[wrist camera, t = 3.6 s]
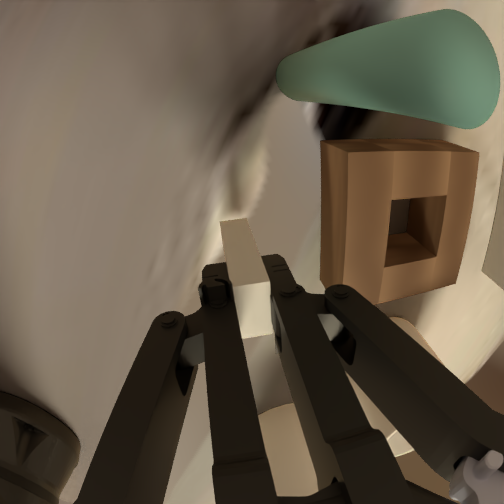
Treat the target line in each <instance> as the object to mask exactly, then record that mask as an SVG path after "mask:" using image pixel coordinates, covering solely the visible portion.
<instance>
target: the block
mask: <svg viewBox="0 0 504 504" xmlns="http://www.w3.org/2000/svg"><path fill="white" fill-rule="evenodd" d="M320 148H321V262H320V280H321V282H322V284H323V285H324V287H325V289H327V288H328V287H330V286H331V285H336V284H344V285H348V286H350V287H352V288H354V289H355V290H356V291H357V292H359V293H360V294H361V295H362V296H363V297H365V298H366V299H367V300H368V301H369V302H371V303H372V304H373V305H376V304H380V303H384V302H388V301H392V300H396V299H400V298H404V297H408V296H412V295H416V294H420V293H423V292H427V291H431V290H434V289H438V288H442V287H445V286H449V285H452V284H456V280H457V276H458V273H459V269H460V265H461V261H462V257H463V252H464V248H465V243H466V239H467V234H468V229H469V224H470V219H471V213H472V207H473V201H474V194H475V187H476V179H477V171H478V161H479V152H476V151H473V150H470V149H468V148H465V147H462V146H459V145H456V144H453V143H450V142H447V141H443V140H426V139H346V140H322V141H320ZM408 198H410V208H409V217H408V225H407V232H406V233H400V234H393V235H388V231H389V221H390V211H391V200H398V199H408Z"/></svg>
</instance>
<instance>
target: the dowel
mask: <svg viewBox="0 0 504 504" xmlns="http://www.w3.org/2000/svg"><path fill="white" fill-rule="evenodd" d="M276 81H277V84H278V87H279V88H280V90H281V91H282V92H283V93H284V94H285V95H286V96H287V97H289V98H291V99H293V100H296V101H305V102H316V103H326V104H335V105H343V106H351V107H358V108H365V109H372V110H378V111H384V112H389V113H395V114H400V115H405V116H410V117H415V118H420V119H425V120H429V121H433V122H438V123H442V124H446V125H450V126H454V127H457V128H462V129H473V128H476V127H479V126H481V125H482V124H484V123H485V122H486V121H487V120H488V119H489V117H490V116H491V115H492V113H493V111H494V109H495V107H496V105H497V101H498V98H499V92H500V71H499V65H498V61H497V57H496V54H495V51H494V49H493V46H492V44H491V42H490V40H489V39H488V37H487V35H486V34H485V32H484V31H483V30H482V29H481V27H480V26H479V25H478V24H477V23H476V22H475V21H474V20H473V19H471V18H470V17H469V16H467V15H465V14H464V13H461V12H459V11H456V10H451V9H443V10H437V11H432V12H427V13H422V14H418V15H413V16H409V17H405V18H400V19H396V20H393V21H389V22H385V23H381V24H378V25H374V26H371V27H367V28H364V29H361V30H358V31H354V32H351V33H348V34H345V35H342V36H339V37H336V38H333V39H330V40H328V41H325V42H322V43H319V44H317V45H314V46H311V47H309V48H306V49H304V50H301V51H299V52H296V53H294V54H291V55H289V56H287V57H285V58H284V59H283V60H282V61H281V62H280V64H279V65H278V67H277V71H276Z"/></svg>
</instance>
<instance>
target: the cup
mask: <svg viewBox="0 0 504 504" xmlns="http://www.w3.org/2000/svg"><path fill="white" fill-rule="evenodd" d="M388 318H390V319H391V320H392V321H393V322H394V323H395V324H397V325H398V326H399V327H400V328H401V329H402V330H404V331H405V332H406V333H407V334H408V335H409V336H411V337H412V338H413V339H414V340H415V341H416V342H418V343H419V344H420V345H421V346H422V347H423V348H424V349H426V350H427V351H428V352H429V353H430V354H431V355H432V356H434V357H435V358H436V359H437V360H438V361H439V362H440V363H441V364H443V363H442V362H441V360H440V359H439V358H438V356H437V355H436V354H435V352H434V351H433V350H432V348H431V347H430V346H429V345H428V343H427V342H426V341H425V339H424V338H423V337H422V336H421V334H420V333H419V332H418V331H417V329H416V328H415V327H414V326H413V325H412V324H411V323H410V322H409V321H407V320H405V319H403V318H398V317H388ZM443 365H444V364H443ZM345 372H346V371H345ZM346 374H347V373H346ZM347 377H348V379H349V381H350V383H351V385H352V387H353V389H354V391H355V393H356V395H357V398H358V400H359V402H360V404H361V406H362V408H363V410H364V412H365V415H366V417H367V419H368V421H369V423H370V425H371V427H372V428H373V429H379V430H380V431H381V432H382V433H383V434H384V436H385V438H386V440H387V442H388V444H389V446H390V448H391V450H392V452H393V454H394V457H396V456H400V455H403V454H406V453H408V452H411V451H413V450H414V449H413V448H412V446H411V445H410V444H409V443H408V442H407V441H406V440H405V439H404V437H403V436H402V435H401V434H400V433H399V432H398V431H397V429H396V428H395V427H394V426H393V425H392V424H391V423H390V422H389V420H388V419H387V418H386V417H385V416H384V415H383V414H382V412H381V411H380V410H379V409H378V408H377V407H376V406H375V404H374V403H373V402H372V401H371V400H370V399H369V398H368V397H367V395H366V394H365V393H364V392H363V391H362V390H361V389H360V387H359V386H358V385H357V384H356V383H355V382H354V381H353V379H352V378H351V377H350V376H349V375H348V374H347Z"/></svg>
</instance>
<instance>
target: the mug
mask: <svg viewBox="0 0 504 504" xmlns="http://www.w3.org/2000/svg"><path fill="white" fill-rule="evenodd" d="M258 418H259V423H260V428H261V432H262V437H263V441H264V446H265V450H266V454H267V457H268V460H269V464H270V468H271V472H272V477H273V481H274V485H275V490H276V494H277V496H310V495H312V494H314V493H316V492H318V485H317V477H316V473H315V470H314V466H313V463H312V460H311V457H310V454H309V450H308V447H307V444H306V441H305V437H304V434H303V431H302V428H301V424H300V421H299V418H298V415H297V411H296V408H295V405H294V403H291V404H285V405H282V406H279V407H275V408H272V409H270V410H268V411H266V412H264V413H262V414H260V415H258Z"/></svg>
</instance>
